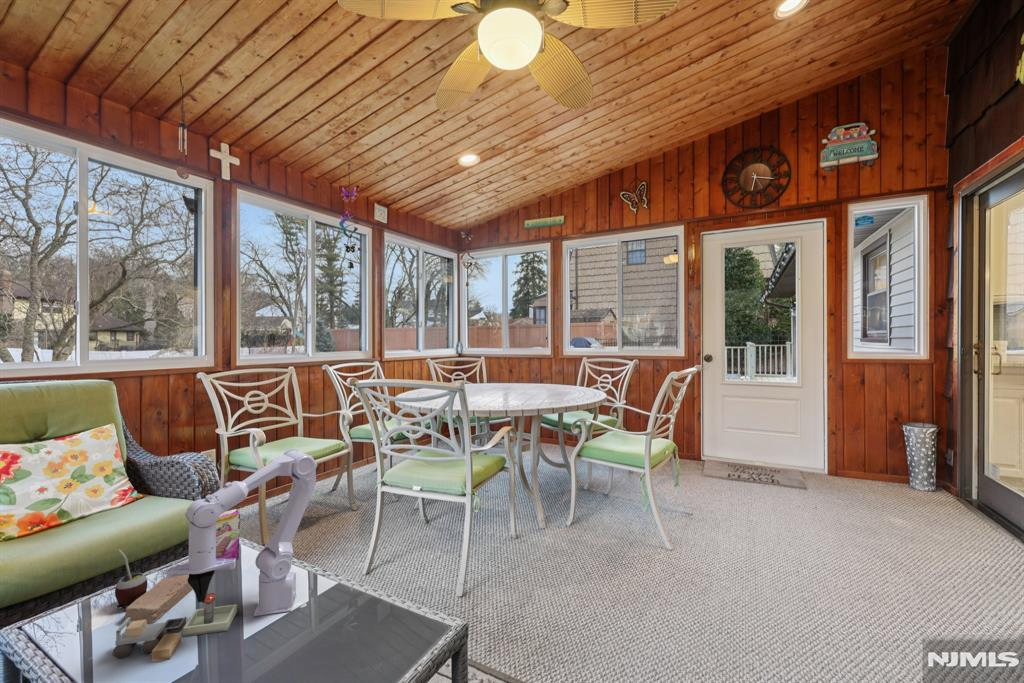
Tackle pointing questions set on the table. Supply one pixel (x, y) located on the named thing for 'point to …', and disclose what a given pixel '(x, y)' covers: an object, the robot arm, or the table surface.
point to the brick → (159, 599)
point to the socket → (175, 622)
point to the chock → (166, 647)
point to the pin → (209, 608)
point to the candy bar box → (228, 535)
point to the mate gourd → (130, 586)
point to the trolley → (137, 637)
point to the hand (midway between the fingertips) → (202, 599)
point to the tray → (220, 623)
